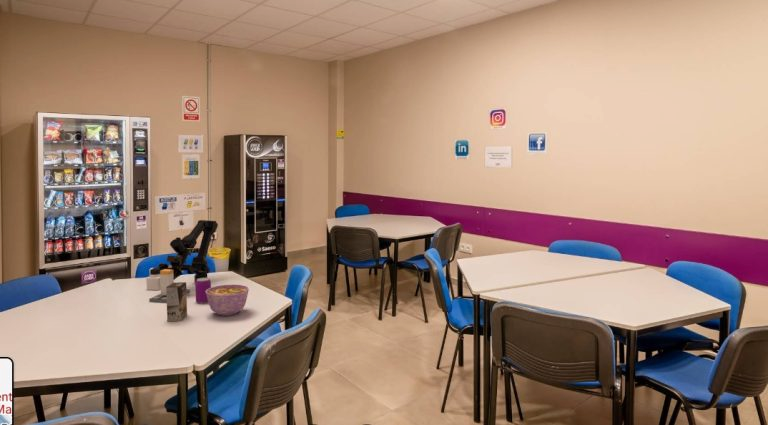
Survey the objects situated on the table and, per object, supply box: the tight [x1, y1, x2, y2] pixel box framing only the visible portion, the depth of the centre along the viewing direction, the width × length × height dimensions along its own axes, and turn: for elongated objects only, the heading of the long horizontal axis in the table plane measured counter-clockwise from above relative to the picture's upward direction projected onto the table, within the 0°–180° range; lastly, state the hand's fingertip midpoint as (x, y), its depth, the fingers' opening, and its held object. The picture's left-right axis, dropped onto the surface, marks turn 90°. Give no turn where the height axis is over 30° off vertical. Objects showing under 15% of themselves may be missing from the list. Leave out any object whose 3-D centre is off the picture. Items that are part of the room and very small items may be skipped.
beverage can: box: [194, 277, 212, 304], centre depth 253 cm, size 8×8×12 cm
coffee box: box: [166, 281, 188, 322], centre depth 226 cm, size 9×6×16 cm
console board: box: [148, 288, 191, 304], centre depth 261 cm, size 21×10×2 cm, turn 170°
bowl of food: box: [205, 284, 250, 317], centre depth 235 cm, size 20×20×12 cm
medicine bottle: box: [145, 266, 161, 291], centre depth 276 cm, size 7×7×12 cm
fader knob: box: [160, 269, 175, 295], centre depth 258 cm, size 4×5×13 cm
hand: (169, 281), depth 260 cm, fingers closed, pressing on fader knob
